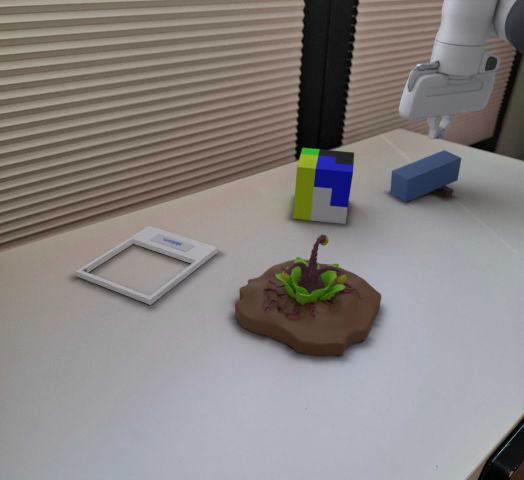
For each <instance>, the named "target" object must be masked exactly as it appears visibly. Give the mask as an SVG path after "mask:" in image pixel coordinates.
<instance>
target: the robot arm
mask: <svg viewBox="0 0 524 480" xmlns="http://www.w3.org/2000/svg"><path fill="white" fill-rule="evenodd" d="M440 20H441V21H440V26H439V27H438V28H439V29H438V31H437V33H436V34H435V37H434V43H433V47H432V51H431V56H430V59H429V60H430V61H429V62H420V63H417V64H416V66H415V67H413V69H412V70H410V72H409V74H408V77H407V80H406V82H405V85H404V87H403V92H402V95H401V98H400V101H399V106H398V113H399V116H400V117H401V118H403V119H405V120H407V121H411V122H412V121H413V122H414V121H417V120H418V121H419V120H425V119H426V120H427V124H428V127H429V130H428V134H427V138H429V139H431V140H439V139H443V138H445V137H446V134H447V130H448V129H449V127H450V126H451V125H452V124H453V122H454V120H455V117H456V115H457V114H464V113H471V112H476V111H477V112H478V111H482V110H483V109H484V108H485V107H486V106H487V105H488V103H489V100H490V98H491V95H492V92H493V88H494V84H495V81H496V80H495V79H496V73H495V72H497V71H498V70H499V68H500V65H501V61H502V60H501V57H499V56H496V55H494V54H493V53H490V52H488V51H487V50H485V49H486V46H487V41H488V39H489V38H491V37H497V38H499V39H501V40H502V41H503V42H506V43H508V44H510V45H511V46H512V47H513V48H514V49H515V50H516V51H518V53H521V54H523V55H524V0H443V2H442V7H441V19H440Z"/></svg>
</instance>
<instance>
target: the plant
mask: <svg viewBox="0 0 524 480" xmlns="http://www.w3.org/2000/svg"><path fill="white" fill-rule="evenodd" d="M329 240H330V239H329V237H328V236H327V235H326V234H320V235H319V236H318V237H317V238H316V241H315V243H313V246H312V249H311V251H310V257H309V258H308V259H305V258H301V257H300V256H297V257H295V258H294V259H291V260H286V261H284V262H281V263H278V264H274V265H272V266H271V267H269V268H268V269H267V270H266V271H265V272H263V273H262V274H261V275H260V276H258V277H253V278H249V279H248V280H247V284H246V285H243V286H241V287H240V288H239V300H238V301H236V302H235V304H234V313H235V317H236V319H237V321H238V323H239V324H240V325H241V326H242V327H243V328H244V329H245V330H247V331H250V332H251V333H255V334H258V335H261V336H265V337H269V338H271V339H273V340H276V341H278V342H281V343H282V344H284V345H287V346H288V347H290V348H292V349H293V350H295V351H296V352H297V353H299V354H307V355H308V354H309V355H312V356H313V355H314V356H321V357H322V356H339V357H340V356H343V355H344V353H345V351H346V349H347V348H348V347H350V346H351V345H355V344H357V343H362V342H364V341H365V340H366V339H367V338H368V335H369V333H370V331H371V328H372V326H373V323H374V321H375V318H376V316H377V315H378V312H379V310H380V306H381V302H382V294H381V293H380V292H379V291H377V289H375V288H374V287H373V286H372V285H371V284H369V282H367V281H366V279H364V278H363V277H361V276H360V275H357V274H356V273H354V272H352V271H349V270H347V269H344V268H342V267H340V265H339V263H319V262H318V255H319V253H318V252H319V246H320V245H321V246H327V244H328V243H329Z"/></svg>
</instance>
